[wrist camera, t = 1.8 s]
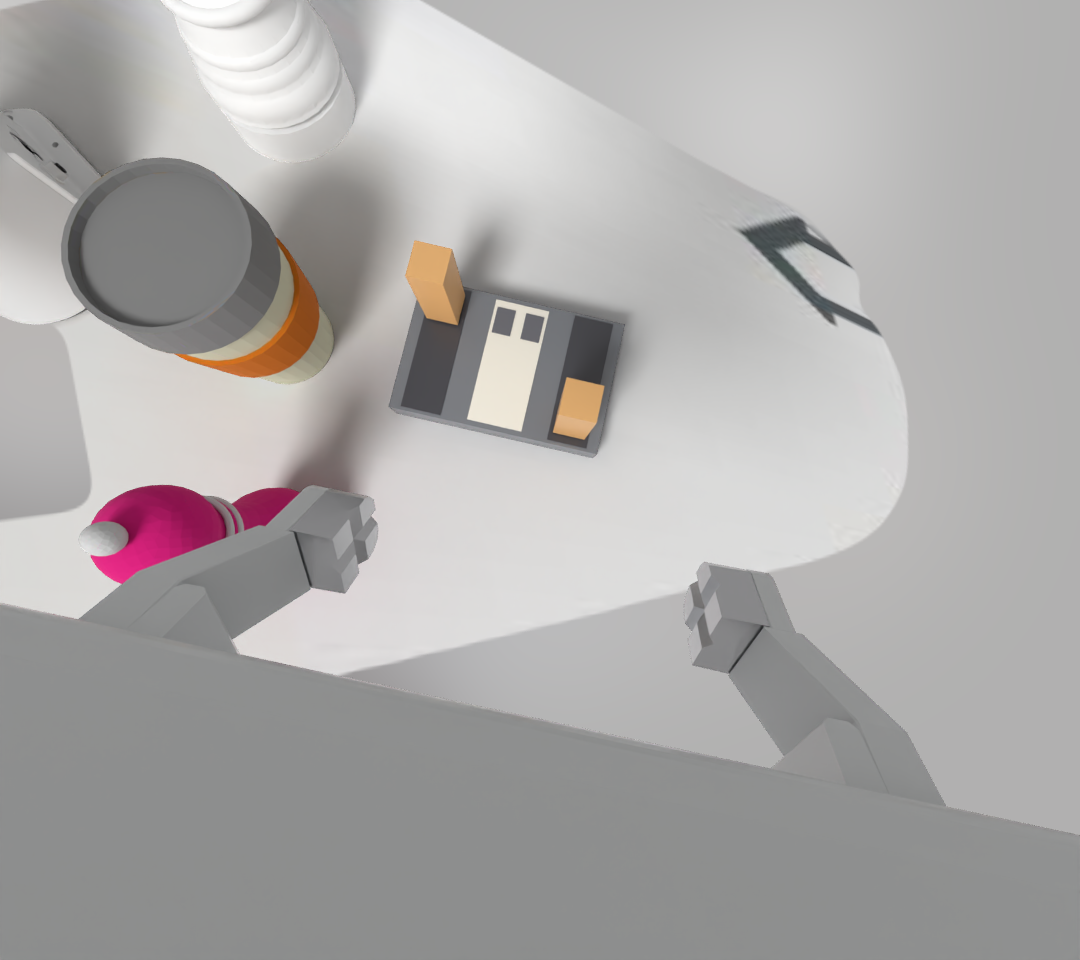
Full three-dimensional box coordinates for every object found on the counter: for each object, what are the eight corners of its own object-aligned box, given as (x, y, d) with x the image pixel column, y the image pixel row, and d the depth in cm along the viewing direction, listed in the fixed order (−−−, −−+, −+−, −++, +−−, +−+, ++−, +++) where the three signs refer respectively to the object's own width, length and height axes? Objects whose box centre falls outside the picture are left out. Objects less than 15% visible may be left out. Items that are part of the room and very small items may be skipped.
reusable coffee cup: (353, 280, 43) (259, 154, 28) (351, 401, 42) (252, 337, 27) (227, 280, 42) (63, 152, 27) (222, 402, 41) (48, 338, 26)
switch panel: (592, 458, 42) (597, 454, 39) (396, 413, 42) (387, 406, 39) (619, 335, 43) (625, 323, 40) (428, 291, 43) (422, 276, 40)
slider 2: (584, 439, 39) (596, 423, 32) (552, 432, 39) (558, 414, 32) (590, 408, 39) (604, 385, 32) (559, 401, 39) (566, 377, 32)
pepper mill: (262, 495, 41) (7, 475, 21) (338, 486, 41) (158, 458, 21) (267, 570, 40) (10, 624, 20) (344, 560, 40) (165, 604, 20)
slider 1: (457, 325, 40) (442, 284, 33) (426, 318, 40) (405, 275, 33) (465, 295, 40) (452, 249, 33) (434, 288, 40) (414, 240, 33)
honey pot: (334, 177, 44) (200, -59, 26) (214, 144, 44) (-4, -116, 26) (371, 69, 45) (267, -229, 27) (254, 36, 45) (72, -284, 27)
